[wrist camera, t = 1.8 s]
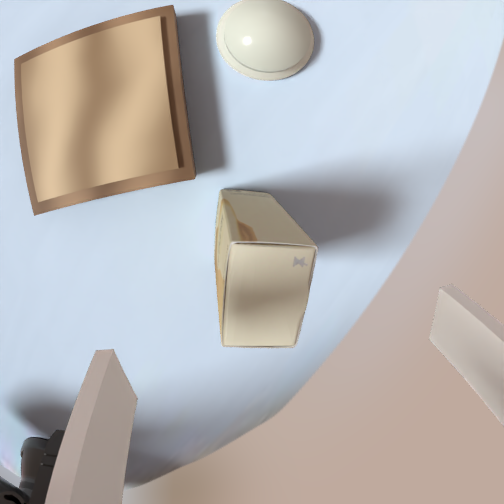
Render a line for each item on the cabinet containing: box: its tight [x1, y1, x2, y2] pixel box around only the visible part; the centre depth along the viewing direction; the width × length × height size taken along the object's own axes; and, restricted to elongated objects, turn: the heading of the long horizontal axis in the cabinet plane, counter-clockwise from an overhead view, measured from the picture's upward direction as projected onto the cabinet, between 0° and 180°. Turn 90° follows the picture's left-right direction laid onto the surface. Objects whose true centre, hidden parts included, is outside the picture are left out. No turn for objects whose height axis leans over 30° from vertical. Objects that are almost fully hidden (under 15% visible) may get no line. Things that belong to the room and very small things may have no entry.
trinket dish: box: [216, 0, 314, 81], centre depth 20 cm, size 8×8×2 cm
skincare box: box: [214, 189, 318, 348], centre depth 21 cm, size 6×4×12 cm
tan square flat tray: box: [14, 5, 196, 216], centre depth 20 cm, size 14×14×3 cm
